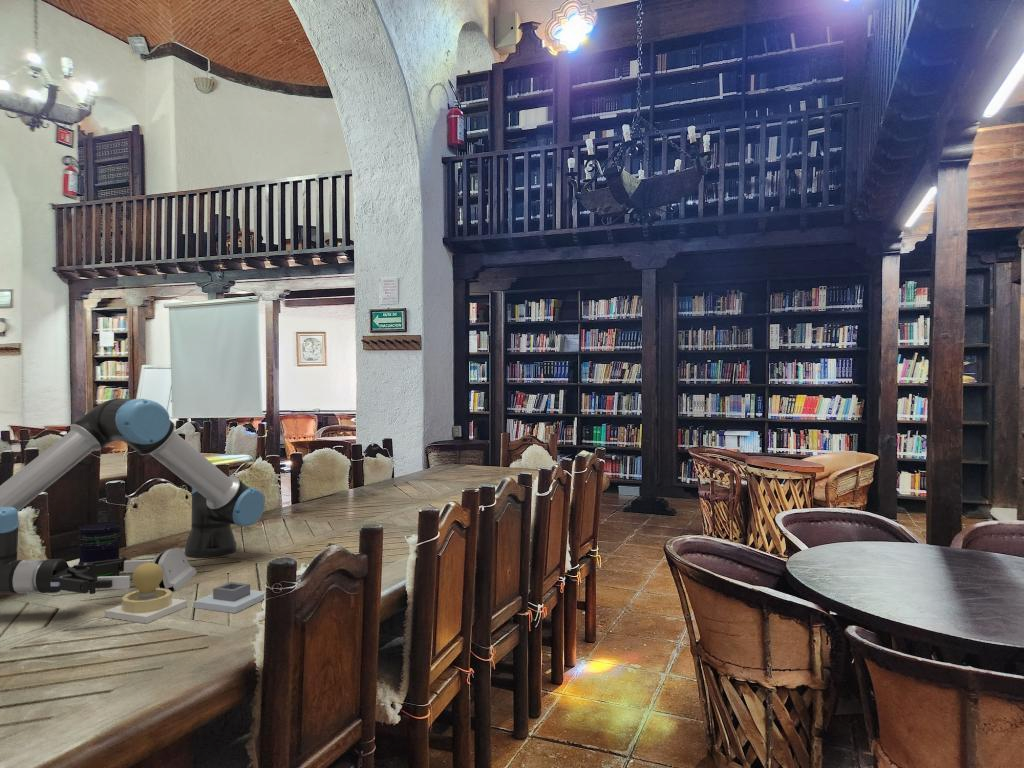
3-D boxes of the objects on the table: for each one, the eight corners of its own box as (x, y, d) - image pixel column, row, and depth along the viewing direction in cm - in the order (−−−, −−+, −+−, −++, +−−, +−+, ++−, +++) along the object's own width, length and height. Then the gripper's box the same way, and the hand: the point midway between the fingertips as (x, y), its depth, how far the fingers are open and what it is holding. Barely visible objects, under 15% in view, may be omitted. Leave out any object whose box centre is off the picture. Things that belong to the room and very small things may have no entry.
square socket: (228, 592, 168) (228, 577, 168) (267, 597, 165) (268, 582, 165) (193, 607, 157) (194, 591, 157) (235, 613, 153) (235, 596, 153)
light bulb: (130, 611, 149) (131, 568, 149) (132, 603, 155) (133, 561, 155) (162, 607, 152) (163, 565, 152) (162, 599, 158) (163, 558, 158)
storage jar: (69, 582, 174) (70, 527, 174) (105, 573, 183) (106, 520, 183) (92, 588, 170) (93, 531, 170) (128, 578, 179) (129, 524, 179)
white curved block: (176, 591, 168) (163, 555, 168) (157, 598, 168) (144, 562, 167) (197, 573, 185) (185, 540, 185) (180, 579, 184) (168, 546, 184)
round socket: (147, 601, 161) (148, 585, 161) (187, 606, 157) (187, 590, 157) (104, 617, 149) (105, 600, 149) (146, 623, 146) (146, 605, 146)
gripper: (70, 576, 162) (161, 574, 165) (9, 610, 137) (117, 607, 140) (71, 546, 162) (162, 545, 165) (10, 575, 137) (118, 572, 140)
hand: (141, 573), depth 153 cm, fingers open, 13 cm apart
